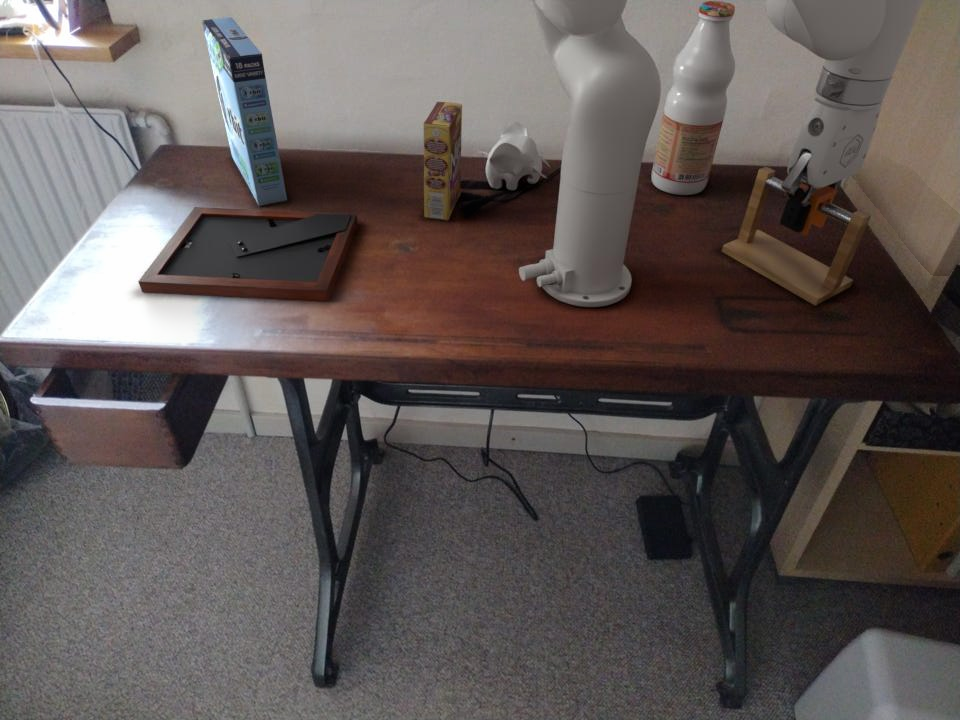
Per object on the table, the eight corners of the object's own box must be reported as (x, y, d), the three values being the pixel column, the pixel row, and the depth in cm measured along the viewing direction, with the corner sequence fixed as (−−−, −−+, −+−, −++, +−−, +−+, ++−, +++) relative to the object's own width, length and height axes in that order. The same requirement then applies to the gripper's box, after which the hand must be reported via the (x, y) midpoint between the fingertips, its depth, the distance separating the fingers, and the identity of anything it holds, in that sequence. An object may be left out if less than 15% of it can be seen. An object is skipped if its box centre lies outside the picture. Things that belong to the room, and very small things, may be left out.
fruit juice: (639, 182, 117) (671, 3, 99) (670, 166, 122) (707, -8, 104) (685, 202, 112) (729, 17, 94) (716, 184, 117) (764, 5, 99)
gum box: (232, 158, 122) (199, 19, 106) (261, 153, 123) (232, 16, 108) (258, 207, 109) (225, 57, 94) (290, 200, 110) (262, 52, 95)
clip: (804, 235, 91) (818, 198, 88) (779, 222, 94) (791, 186, 90) (823, 226, 93) (837, 189, 89) (798, 214, 95) (810, 177, 92)
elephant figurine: (544, 200, 112) (549, 148, 106) (472, 192, 114) (473, 140, 108) (552, 174, 119) (556, 124, 113) (484, 167, 121) (485, 117, 115)
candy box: (451, 222, 106) (449, 125, 96) (424, 218, 107) (420, 123, 97) (462, 195, 113) (462, 102, 103) (437, 192, 113) (434, 100, 103)
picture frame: (357, 224, 105) (197, 217, 106) (356, 212, 104) (194, 205, 105) (328, 301, 90) (142, 292, 91) (326, 288, 89) (137, 279, 90)
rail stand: (815, 306, 91) (849, 225, 83) (721, 251, 101) (743, 174, 93) (850, 287, 95) (886, 207, 87) (756, 236, 105) (780, 160, 96)
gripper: (837, 111, 75) (786, 253, 87) (921, 82, 82) (863, 217, 94) (780, 90, 80) (739, 228, 92) (864, 64, 87) (816, 195, 99)
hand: (802, 221), depth 93 cm, fingers open, 4 cm apart
